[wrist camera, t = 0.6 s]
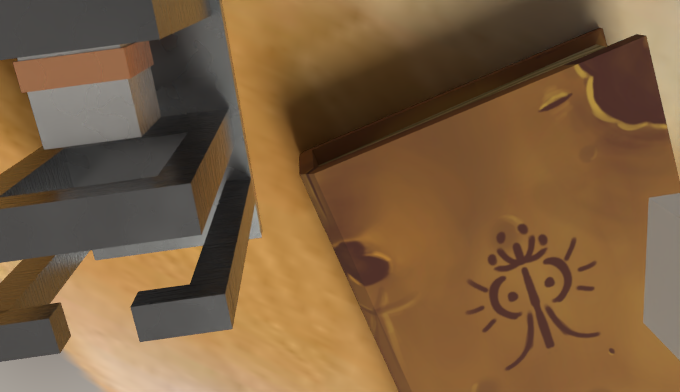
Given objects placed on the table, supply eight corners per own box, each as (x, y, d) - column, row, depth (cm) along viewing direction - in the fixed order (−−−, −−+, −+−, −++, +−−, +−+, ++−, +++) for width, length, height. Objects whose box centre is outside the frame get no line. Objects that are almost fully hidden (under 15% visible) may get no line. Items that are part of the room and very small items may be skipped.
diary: (299, 150, 38) (299, 178, 32) (593, 27, 36) (645, 34, 31) (427, 434, 45) (444, 496, 40) (675, 340, 44) (729, 391, 38)
